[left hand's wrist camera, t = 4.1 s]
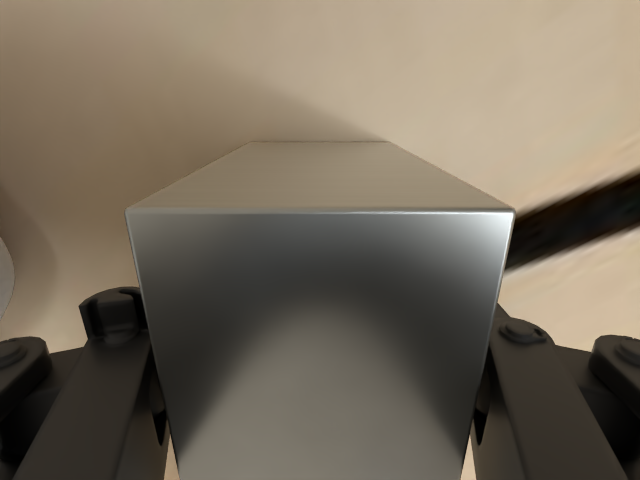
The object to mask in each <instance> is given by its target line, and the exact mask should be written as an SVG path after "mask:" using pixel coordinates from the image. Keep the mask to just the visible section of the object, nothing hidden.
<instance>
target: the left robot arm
mask: <svg viewBox="0 0 640 480" xmlns="http://www.w3.org/2000/svg"><path fill="white" fill-rule="evenodd" d="M79 309H80V313H81V316H82V320H83V323H84V327H85V330H86V334H87V337H88V340H87V342H86V344H85V346H84V347H81V348H76V349H71V350H66V351H61V352H55V353H50V354H49V351H48V348H47V345H46V342H45V341H44V340H43V339H41V338H39V337H31V336H29V337H21V338H12V339H9V340H5V341H1V342H0V480H164V474H165V467H166V459H167V452H168V445H169V437H170V430H169V425H168V420H167V416H166V411H165V406H164V401H163V396H162V392H161V387H160V382H159V377H158V372H157V368H156V363H155V358H154V353H153V349H152V344H151V339H150V334H149V329H148V325H147V320H146V315H145V310H144V305H143V301H142V296H141V291H140V288H138V287H119V288H114V289H108V290H106V291H103V292H100V293H97V294H95V295H93V296H91V297H89V298H87V299H86V300H84V301H83V302H82V303H81V304H80V305H79ZM470 436H471V444H472V451H473V458H474V466H475V473H476V480H640V340H639V339H635V338H634V339H633V338H632V337H627V336H617V335H605V336H600V337H599V338H597V339H596V340H595V343H594V346H593V349H592V352H588V351H583V350H578V349H572V348H567V347H562V346H558V345H555V343H554V341H553V340H552V338H551V337H550V336H549V335H548V334H547V332H546V331H544V330H543V329H541V328H540V327H538V326H536V325H534V324H532V323H530V322H527V321H525V320H521V319H516V318H512V317H510V316H509V315H508V314H507V313H506V312H505V311H504V309H503V308H502V307H501V306H500V305H499V304H498V303H497V306H496V311H495V316H494V321H493V326H492V330H491V335H490V340H489V345H488V349H487V354H486V359H485V364H484V369H483V373H482V378H481V383H480V388H479V392H478V397H477V402H476V407H475V412H474V416H473V421H472V426H471V431H470Z"/></svg>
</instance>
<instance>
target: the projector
mask: <svg viewBox="0 0 640 480" xmlns="http://www.w3.org/2000/svg"><path fill="white" fill-rule="evenodd" d="M14 282H15V272H14V264H13V261H12V258H11V255H10V253H9V251H8V249H7V247H6V245H5V244H4V242H3V240H2V238H1V237H0V320H1V318H2V316H3V314H4V312H5V310H6V308H7V306H8V304H9V301H10V299H11V297H12V293H13V288H14Z"/></svg>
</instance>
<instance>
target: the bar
mask: <svg viewBox="0 0 640 480" xmlns="http://www.w3.org/2000/svg"><path fill="white" fill-rule="evenodd" d="M124 215H125V219H126V224H127V229H128V234H129V238H130V243H131V248H132V253H133V258H134V262H135V267H136V272H137V277H138V282H139V286H140V291H141V296H142V301H143V305H144V310H145V315H146V320H147V325H148V329H149V334H150V339H151V344H152V349H153V353H154V358H155V363H156V368H157V372H158V377H159V382H160V387H161V392H162V396H163V401H164V406H165V411H166V416H167V420H168V425H169V430H170V435H171V439H172V444H173V449H174V454H175V459H176V463H177V468H178V473H179V478H180V480H460V478H461V474H462V469H463V464H464V459H465V455H466V450H467V445H468V440H469V435H470V431H471V426H472V421H473V416H474V412H475V407H476V402H477V397H478V392H479V388H480V383H481V378H482V373H483V369H484V364H485V359H486V354H487V349H488V345H489V340H490V335H491V330H492V326H493V321H494V316H495V311H496V306H497V302H498V297H499V292H500V287H501V283H502V278H503V273H504V268H505V263H506V259H507V254H508V249H509V244H510V240H511V235H512V230H513V225H514V220H515V216H516V211H515V208H513V207H511V206H509V205H507V204H505V203H504V202H502V201H500V200H498V199H496V198H494V197H492V196H490V195H489V194H487V193H485V192H483V191H481V190H479V189H477V188H475V187H474V186H472V185H470V184H468V183H466V182H464V181H462V180H460V179H459V178H457V177H455V176H453V175H451V174H449V173H447V172H445V171H444V170H442V169H440V168H438V167H436V166H434V165H432V164H430V163H429V162H427V161H425V160H423V159H421V158H419V157H417V156H416V155H414V154H412V153H410V152H408V151H406V150H404V149H402V148H401V147H399V146H397V145H395V144H393V143H391V142H249V143H247V144H245V145H243V146H241V147H240V148H238V149H236V150H234V151H232V152H230V153H228V154H226V155H225V156H223V157H221V158H219V159H217V160H215V161H213V162H211V163H210V164H208V165H206V166H204V167H202V168H200V169H198V170H196V171H195V172H193V173H191V174H189V175H187V176H185V177H183V178H182V179H180V180H178V181H176V182H174V183H172V184H170V185H168V186H167V187H165V188H163V189H161V190H159V191H157V192H155V193H153V194H152V195H150V196H148V197H146V198H144V199H142V200H140V201H138V202H137V203H135V204H133V205H131V206H129V207H127V208H126V209H125V213H124Z"/></svg>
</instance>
